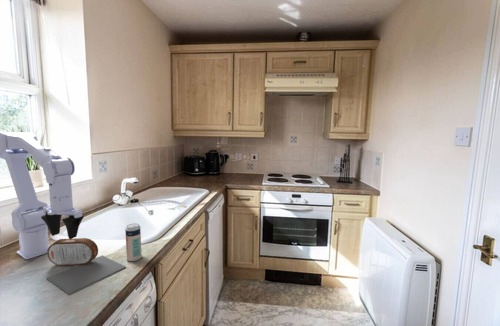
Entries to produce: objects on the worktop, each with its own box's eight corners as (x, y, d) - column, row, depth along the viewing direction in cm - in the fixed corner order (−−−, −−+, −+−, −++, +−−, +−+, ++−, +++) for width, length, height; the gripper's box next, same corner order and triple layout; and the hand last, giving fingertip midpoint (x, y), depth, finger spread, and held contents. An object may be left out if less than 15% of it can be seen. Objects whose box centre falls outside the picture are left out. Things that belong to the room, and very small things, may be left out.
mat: (46, 278, 72) (46, 277, 72) (102, 256, 86) (102, 255, 86) (69, 295, 65) (68, 293, 65) (125, 267, 78) (125, 266, 78)
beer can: (132, 254, 87) (131, 222, 86) (144, 256, 86) (143, 223, 85) (123, 261, 82) (121, 227, 81) (135, 263, 81) (134, 228, 80)
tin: (99, 260, 82) (97, 236, 81) (94, 265, 78) (91, 240, 78) (54, 262, 81) (51, 238, 80) (46, 267, 78) (43, 242, 77)
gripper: (31, 196, 77) (34, 237, 78) (65, 201, 73) (68, 244, 74) (54, 192, 83) (57, 229, 85) (87, 195, 79) (89, 235, 81)
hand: (64, 236), depth 80 cm, fingers open, 7 cm apart
